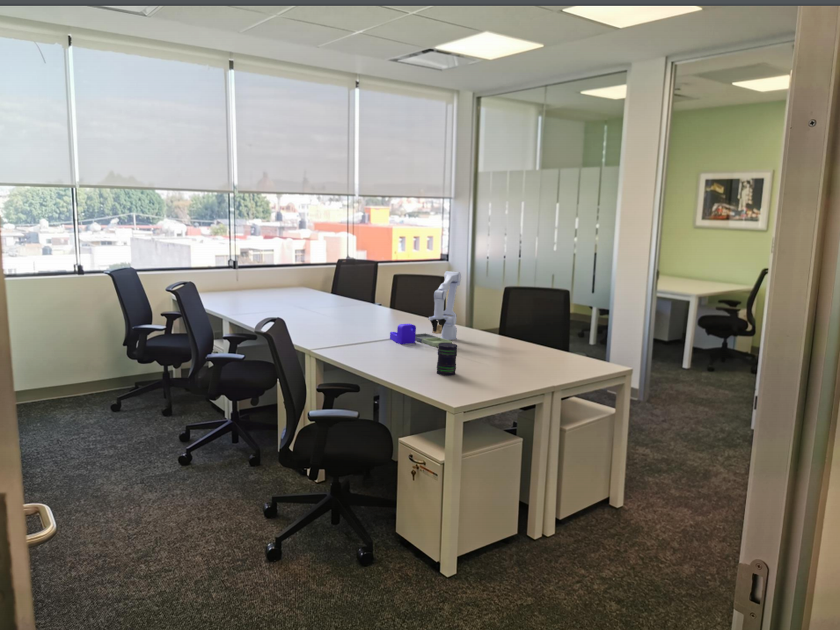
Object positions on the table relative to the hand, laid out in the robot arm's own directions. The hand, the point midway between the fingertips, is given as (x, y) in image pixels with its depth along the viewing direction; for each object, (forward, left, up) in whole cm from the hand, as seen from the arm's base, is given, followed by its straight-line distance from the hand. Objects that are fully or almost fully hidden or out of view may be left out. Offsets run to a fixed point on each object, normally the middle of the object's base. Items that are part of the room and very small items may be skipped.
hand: (437, 331), depth 390 cm
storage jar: (+42, +59, -8) cm, 73 cm away
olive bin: (0, 0, -8) cm, 8 cm away
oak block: (0, -1, -1) cm, 1 cm away
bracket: (+17, -17, -9) cm, 25 cm away
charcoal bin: (0, -14, -8) cm, 16 cm away
